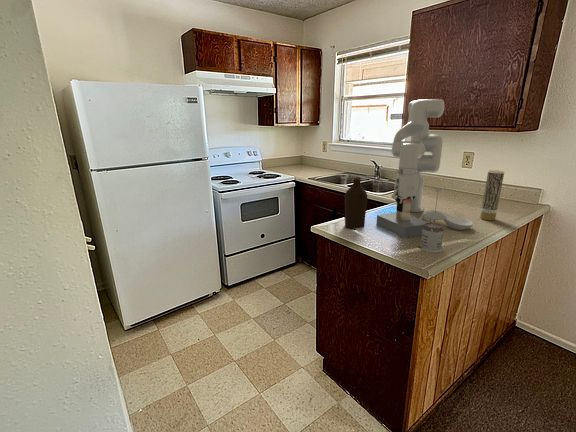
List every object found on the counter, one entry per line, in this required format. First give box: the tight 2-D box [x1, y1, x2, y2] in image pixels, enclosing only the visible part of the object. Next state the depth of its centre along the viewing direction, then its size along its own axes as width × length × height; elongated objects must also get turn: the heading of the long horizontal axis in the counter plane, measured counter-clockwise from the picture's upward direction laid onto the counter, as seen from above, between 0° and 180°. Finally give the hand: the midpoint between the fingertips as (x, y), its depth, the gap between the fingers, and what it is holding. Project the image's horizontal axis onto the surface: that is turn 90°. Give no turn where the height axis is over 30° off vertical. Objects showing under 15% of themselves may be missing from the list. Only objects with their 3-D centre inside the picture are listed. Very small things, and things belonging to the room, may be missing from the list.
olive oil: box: [344, 175, 368, 231], centre depth 150 cm, size 11×11×25 cm
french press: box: [418, 187, 446, 253], centre depth 125 cm, size 10×12×25 cm
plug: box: [396, 197, 412, 221], centre depth 144 cm, size 4×4×11 cm
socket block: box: [376, 211, 430, 239], centre depth 146 cm, size 20×14×6 cm
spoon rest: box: [419, 209, 474, 231], centre depth 152 cm, size 24×12×7 cm, turn 59°
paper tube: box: [480, 169, 505, 221], centre depth 159 cm, size 7×7×25 cm
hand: (403, 210), depth 144 cm, fingers closed on plug, 4 cm apart
